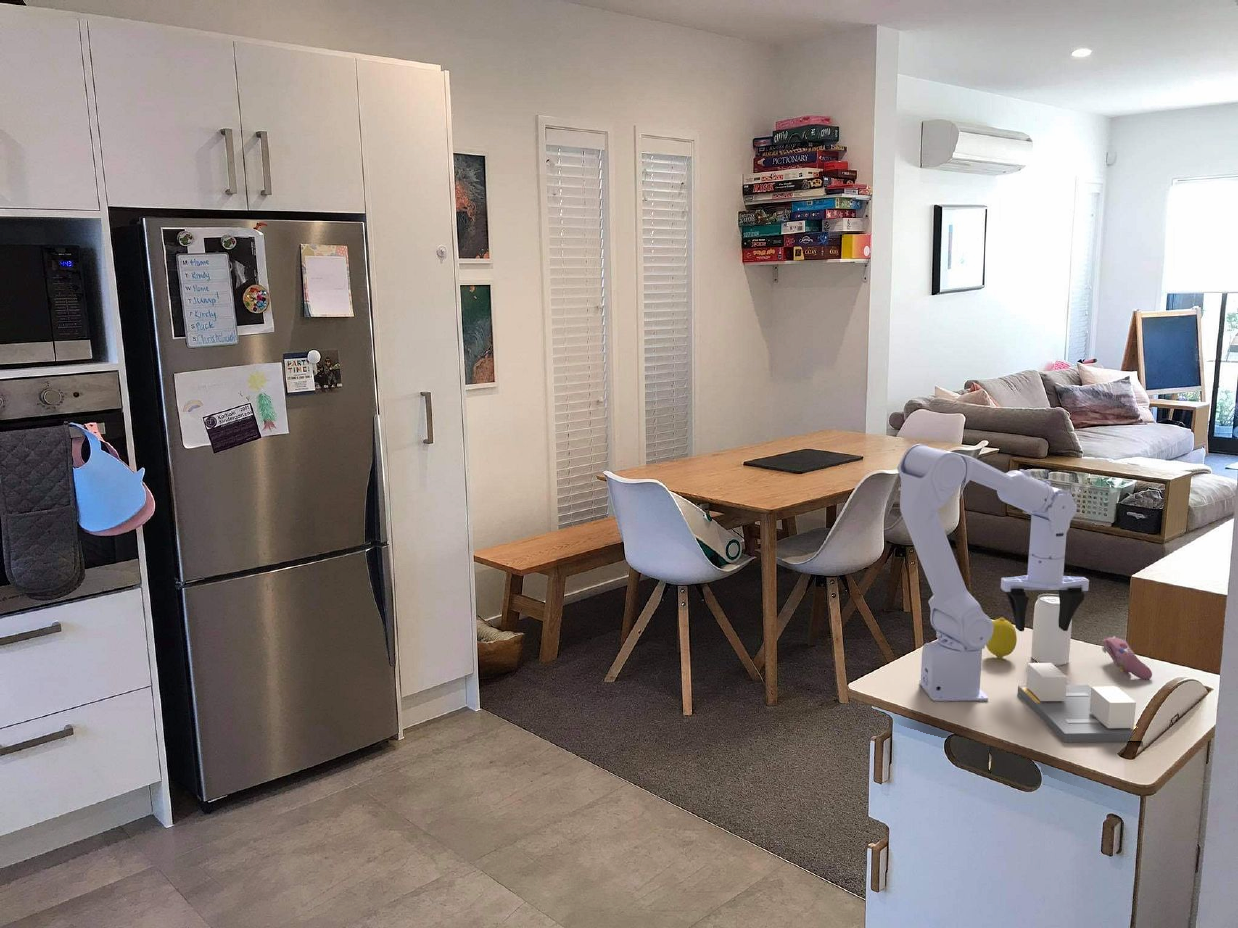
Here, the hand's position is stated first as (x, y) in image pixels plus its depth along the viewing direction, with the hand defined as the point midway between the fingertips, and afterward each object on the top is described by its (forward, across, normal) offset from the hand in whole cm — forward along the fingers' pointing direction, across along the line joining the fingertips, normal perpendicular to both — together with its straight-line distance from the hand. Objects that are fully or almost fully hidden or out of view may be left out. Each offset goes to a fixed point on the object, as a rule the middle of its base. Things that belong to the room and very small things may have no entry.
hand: (1041, 629), depth 172 cm
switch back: (+8, -3, -10) cm, 13 cm away
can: (+10, +6, +9) cm, 14 cm away
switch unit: (+9, 0, -15) cm, 18 cm away
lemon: (+10, -3, +10) cm, 14 cm away
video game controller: (+10, +17, +4) cm, 20 cm away
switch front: (+8, +3, -20) cm, 22 cm away
